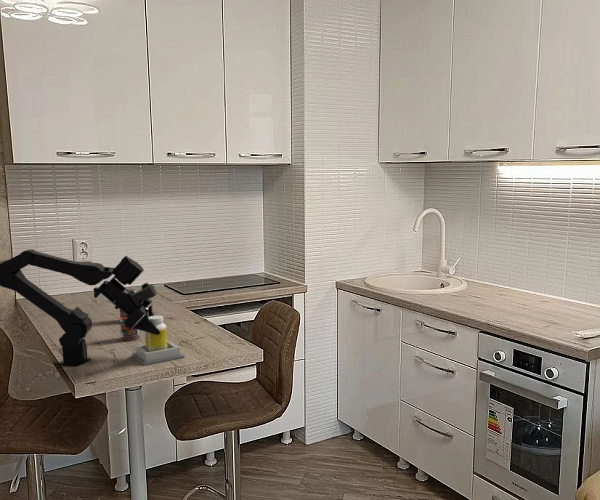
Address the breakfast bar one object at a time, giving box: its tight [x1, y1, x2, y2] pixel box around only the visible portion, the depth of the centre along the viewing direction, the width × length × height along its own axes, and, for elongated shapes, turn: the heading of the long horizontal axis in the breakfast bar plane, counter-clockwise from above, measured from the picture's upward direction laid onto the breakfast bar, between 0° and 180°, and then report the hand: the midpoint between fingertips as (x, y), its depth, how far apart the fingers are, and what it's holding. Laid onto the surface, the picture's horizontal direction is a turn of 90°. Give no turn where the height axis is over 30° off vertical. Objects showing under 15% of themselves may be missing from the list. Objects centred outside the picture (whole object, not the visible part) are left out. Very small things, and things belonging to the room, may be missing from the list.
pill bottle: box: [144, 315, 168, 352], centre depth 171 cm, size 6×6×11 cm
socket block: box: [131, 339, 185, 366], centre depth 172 cm, size 12×12×3 cm
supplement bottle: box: [119, 312, 141, 342], centre depth 193 cm, size 6×6×11 cm
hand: (160, 331), depth 171 cm, fingers closed on pill bottle, 6 cm apart
